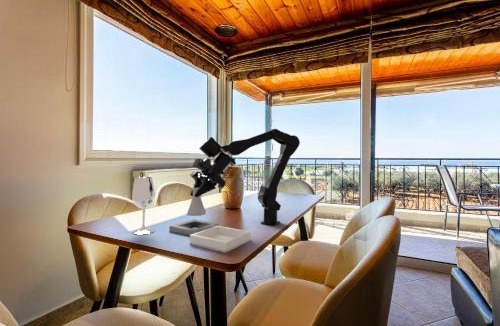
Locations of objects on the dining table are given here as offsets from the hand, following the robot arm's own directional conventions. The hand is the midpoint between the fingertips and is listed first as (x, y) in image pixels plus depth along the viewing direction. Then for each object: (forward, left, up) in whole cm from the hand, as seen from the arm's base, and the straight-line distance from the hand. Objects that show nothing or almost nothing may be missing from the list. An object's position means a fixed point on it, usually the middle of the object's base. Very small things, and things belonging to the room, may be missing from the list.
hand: (193, 196), depth 98 cm
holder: (-1, 0, -13) cm, 13 cm away
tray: (+5, +17, -13) cm, 22 cm away
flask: (-1, 0, -7) cm, 7 cm away
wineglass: (+11, -14, -13) cm, 22 cm away
